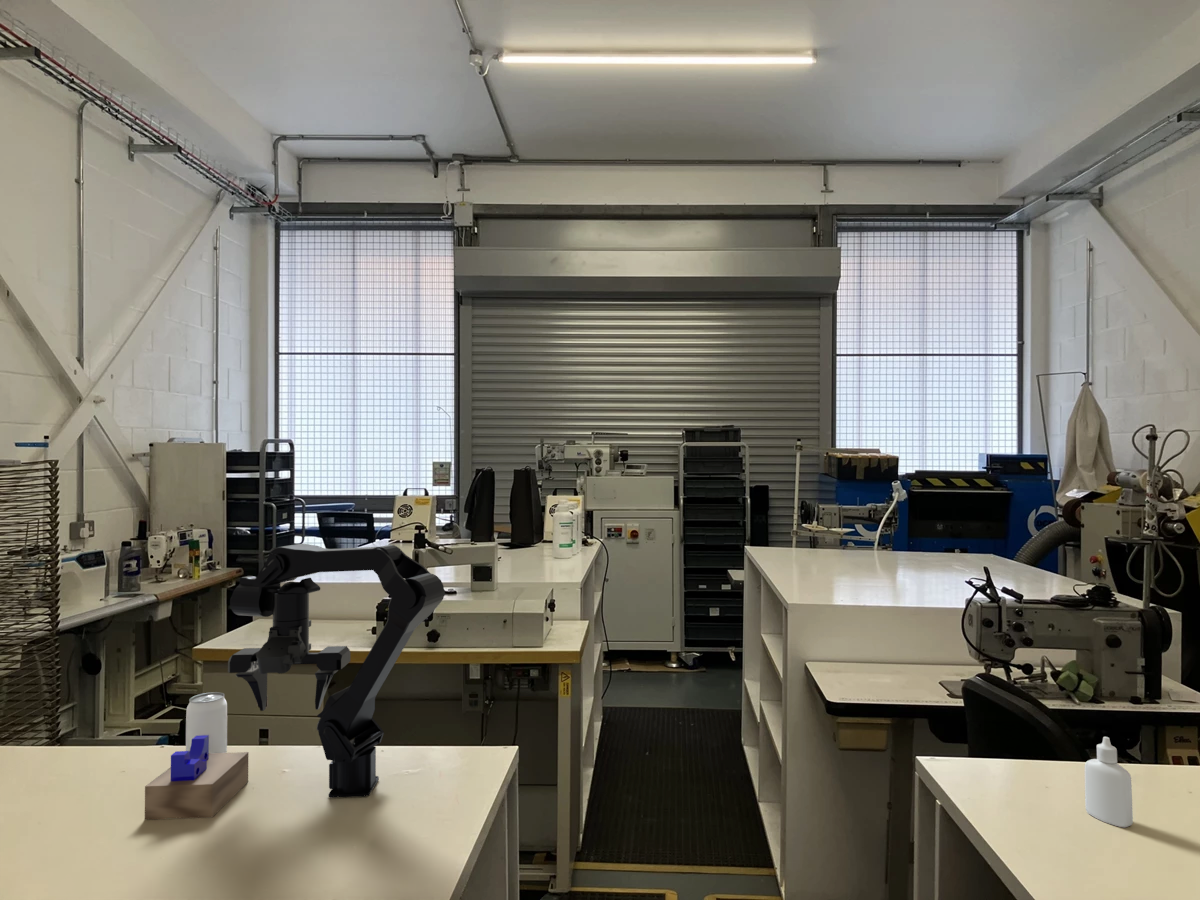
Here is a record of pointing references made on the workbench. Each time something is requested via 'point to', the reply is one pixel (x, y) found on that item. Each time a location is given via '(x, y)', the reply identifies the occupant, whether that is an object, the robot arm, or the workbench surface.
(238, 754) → the plate
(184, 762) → the cable holder
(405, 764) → the workbench surface
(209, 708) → the can
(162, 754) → the workbench surface
